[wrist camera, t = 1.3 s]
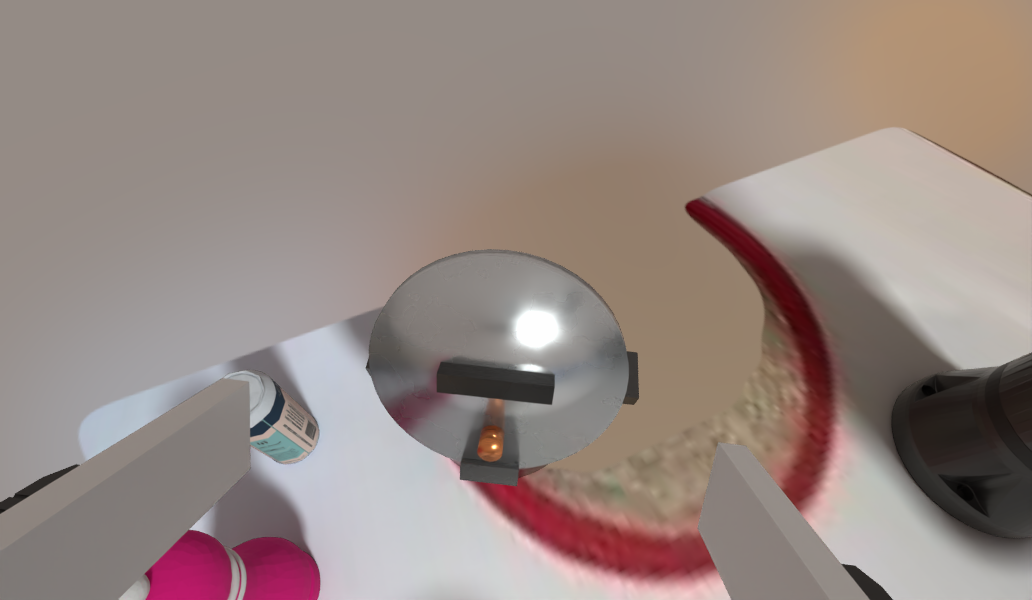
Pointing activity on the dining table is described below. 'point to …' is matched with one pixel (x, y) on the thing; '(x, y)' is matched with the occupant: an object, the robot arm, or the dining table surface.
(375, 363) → the pot lid
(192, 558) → the pepper mill
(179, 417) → the robot arm
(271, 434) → the beer can
